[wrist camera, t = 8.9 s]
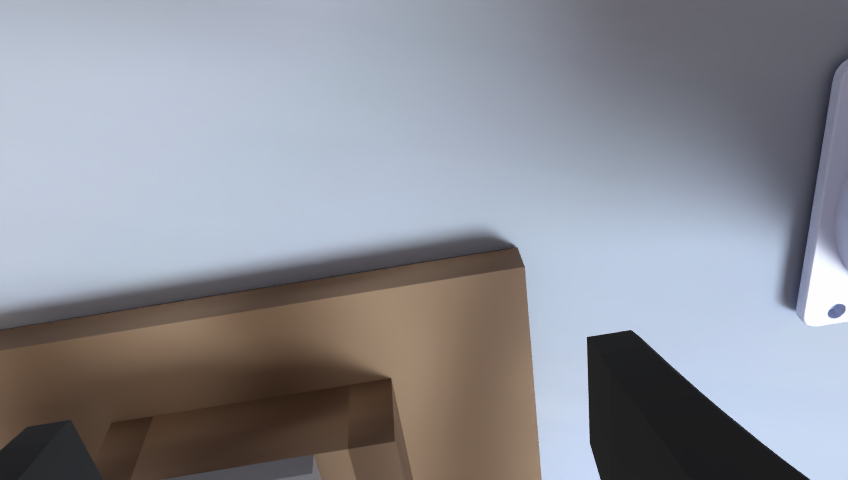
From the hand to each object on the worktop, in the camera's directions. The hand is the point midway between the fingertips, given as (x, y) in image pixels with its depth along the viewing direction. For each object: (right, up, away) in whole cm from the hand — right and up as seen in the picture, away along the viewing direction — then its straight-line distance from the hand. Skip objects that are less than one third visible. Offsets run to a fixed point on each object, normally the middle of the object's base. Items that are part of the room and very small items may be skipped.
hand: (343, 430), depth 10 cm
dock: (-3, -6, +13) cm, 15 cm away
